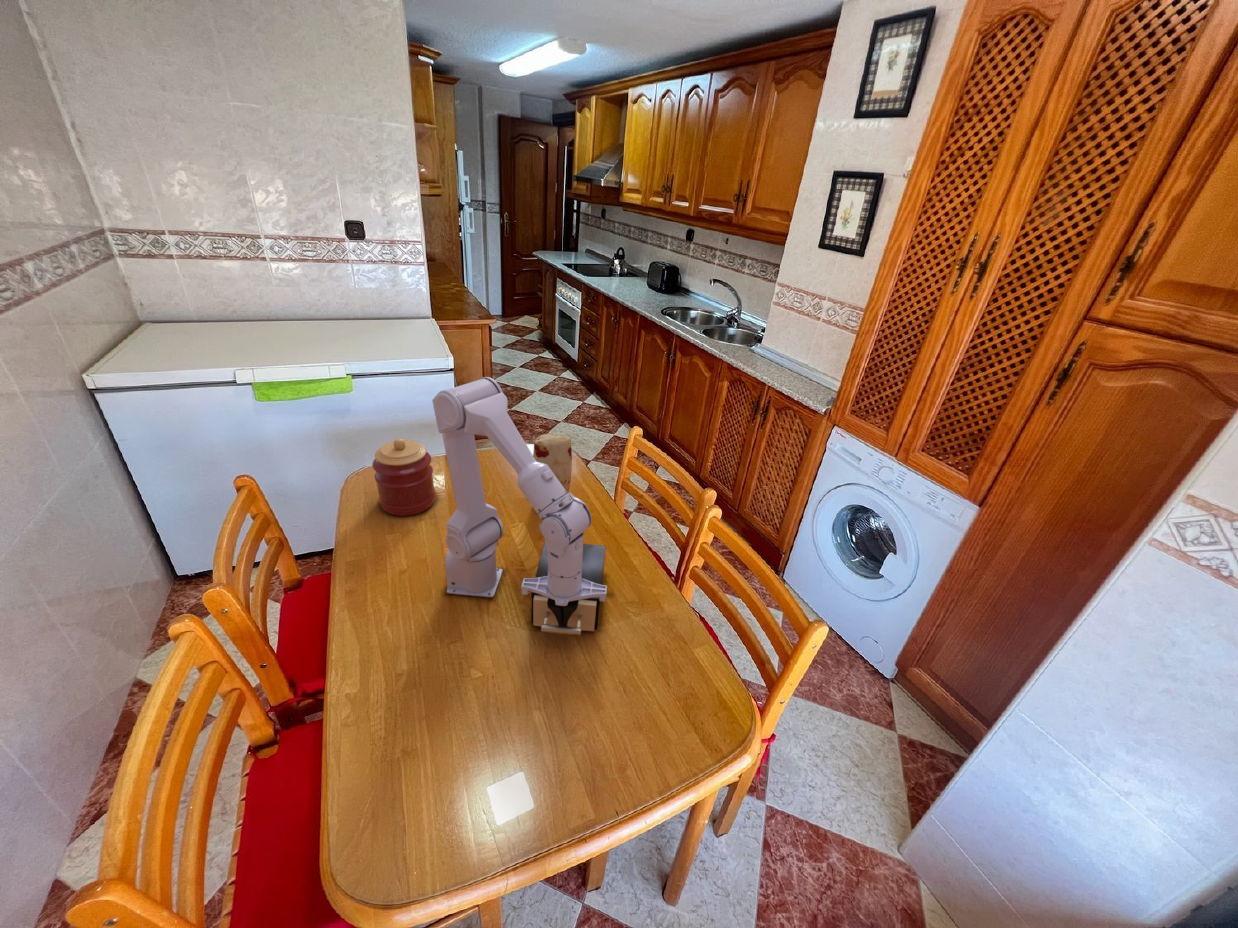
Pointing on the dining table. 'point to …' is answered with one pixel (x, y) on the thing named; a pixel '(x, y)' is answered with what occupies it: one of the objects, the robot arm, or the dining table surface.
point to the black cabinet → (590, 570)
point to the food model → (555, 456)
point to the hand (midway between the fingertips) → (563, 623)
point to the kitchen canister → (404, 477)
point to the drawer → (576, 623)
